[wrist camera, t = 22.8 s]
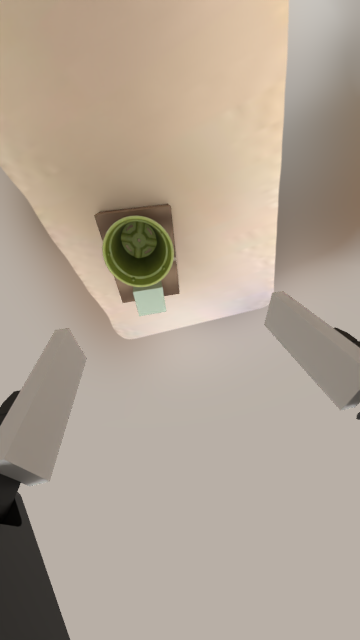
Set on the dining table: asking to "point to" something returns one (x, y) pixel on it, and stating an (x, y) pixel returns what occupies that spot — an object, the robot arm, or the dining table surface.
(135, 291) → the sage block
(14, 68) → the dining table surface
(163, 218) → the walnut board
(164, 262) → the plant pot
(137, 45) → the dining table surface
